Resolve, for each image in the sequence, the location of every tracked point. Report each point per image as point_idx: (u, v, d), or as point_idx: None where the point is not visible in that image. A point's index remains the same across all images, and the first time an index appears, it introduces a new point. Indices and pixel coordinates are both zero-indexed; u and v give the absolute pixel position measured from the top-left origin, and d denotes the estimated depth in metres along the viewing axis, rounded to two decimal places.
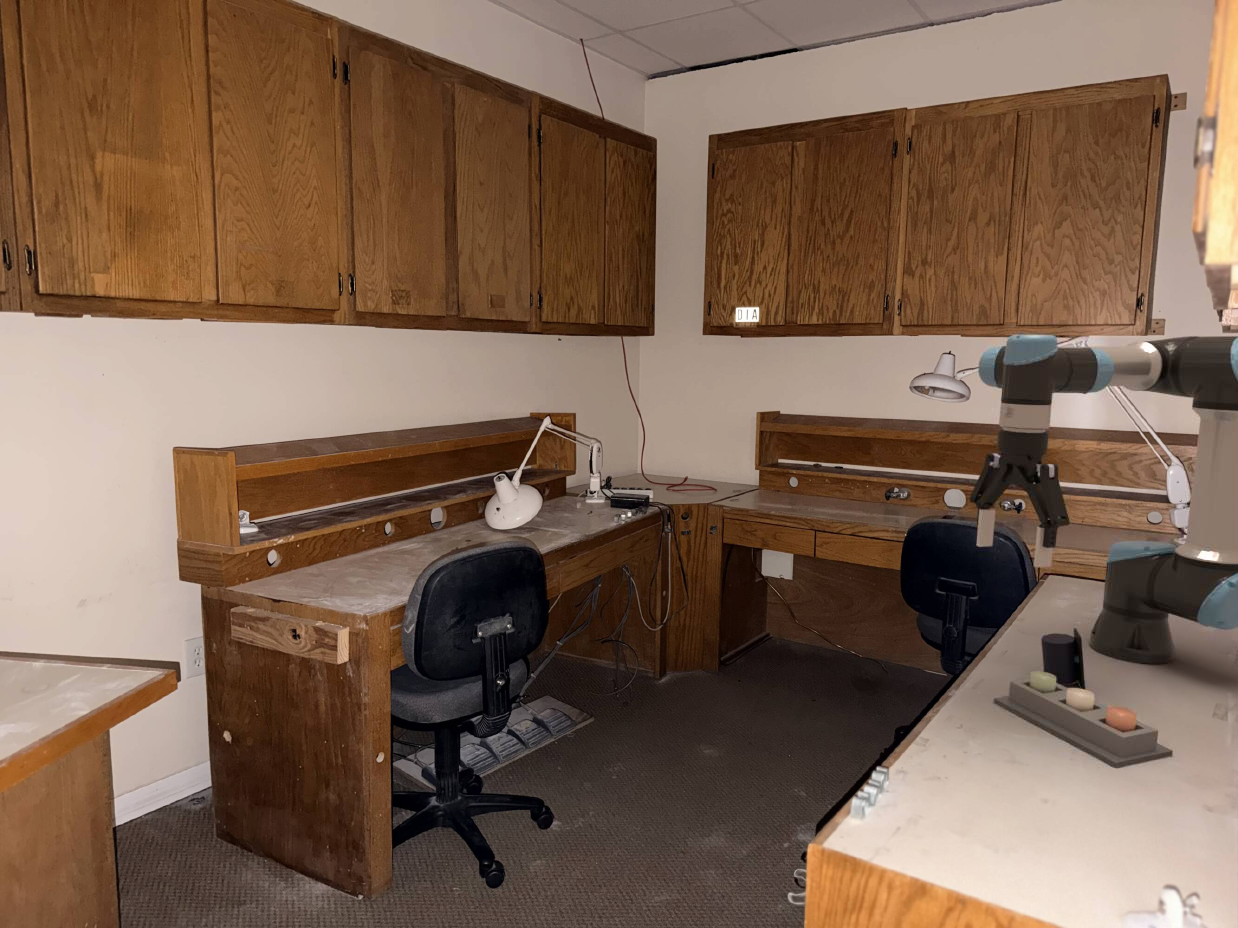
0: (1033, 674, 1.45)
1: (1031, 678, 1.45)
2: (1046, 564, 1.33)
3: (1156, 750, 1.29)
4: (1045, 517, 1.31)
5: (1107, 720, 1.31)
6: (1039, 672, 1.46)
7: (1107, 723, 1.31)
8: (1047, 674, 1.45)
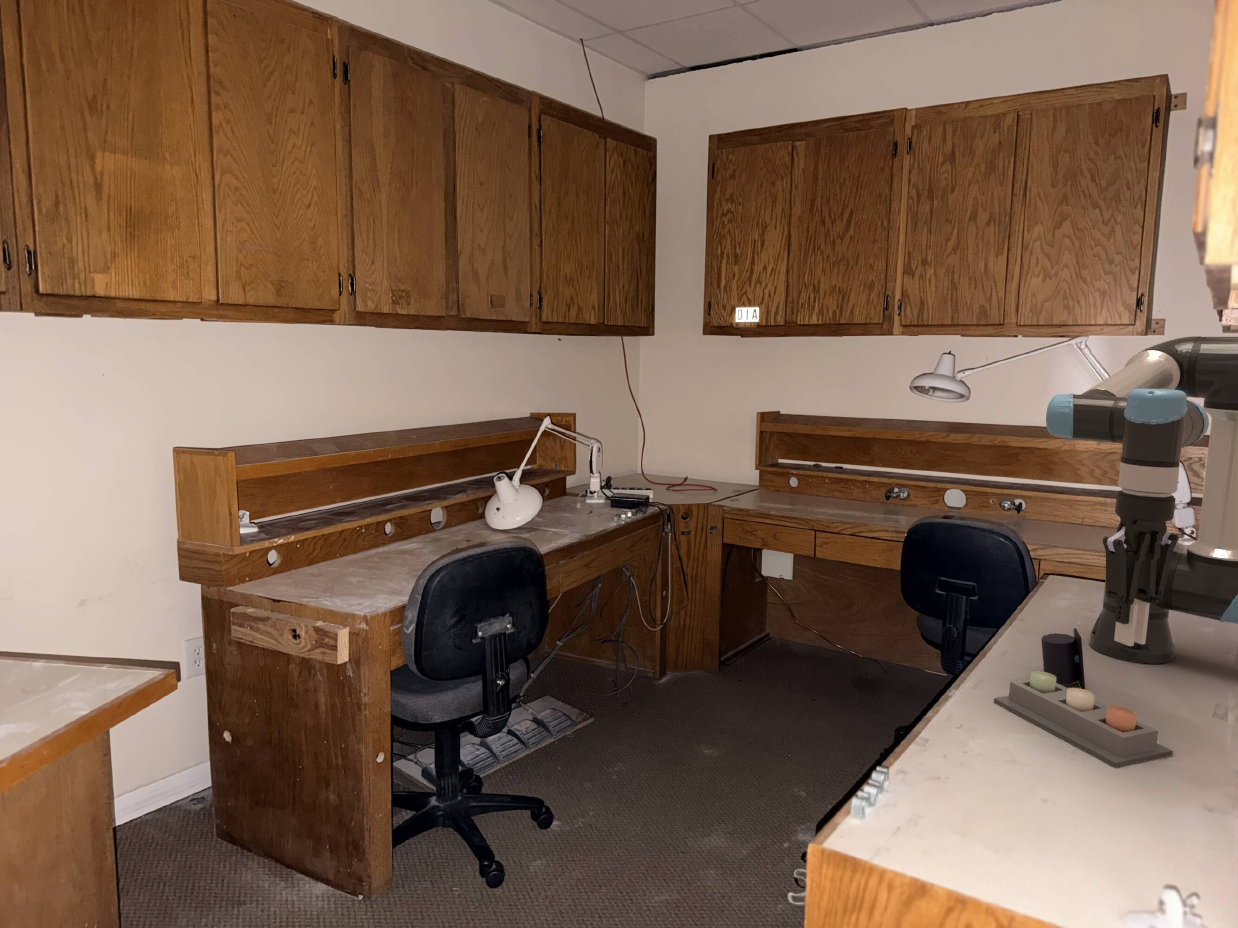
0: (1033, 674, 1.45)
1: (1031, 678, 1.45)
2: (1124, 641, 1.28)
3: (1156, 750, 1.29)
4: None
5: (1107, 720, 1.31)
6: (1039, 672, 1.46)
7: (1107, 723, 1.31)
8: (1047, 674, 1.45)
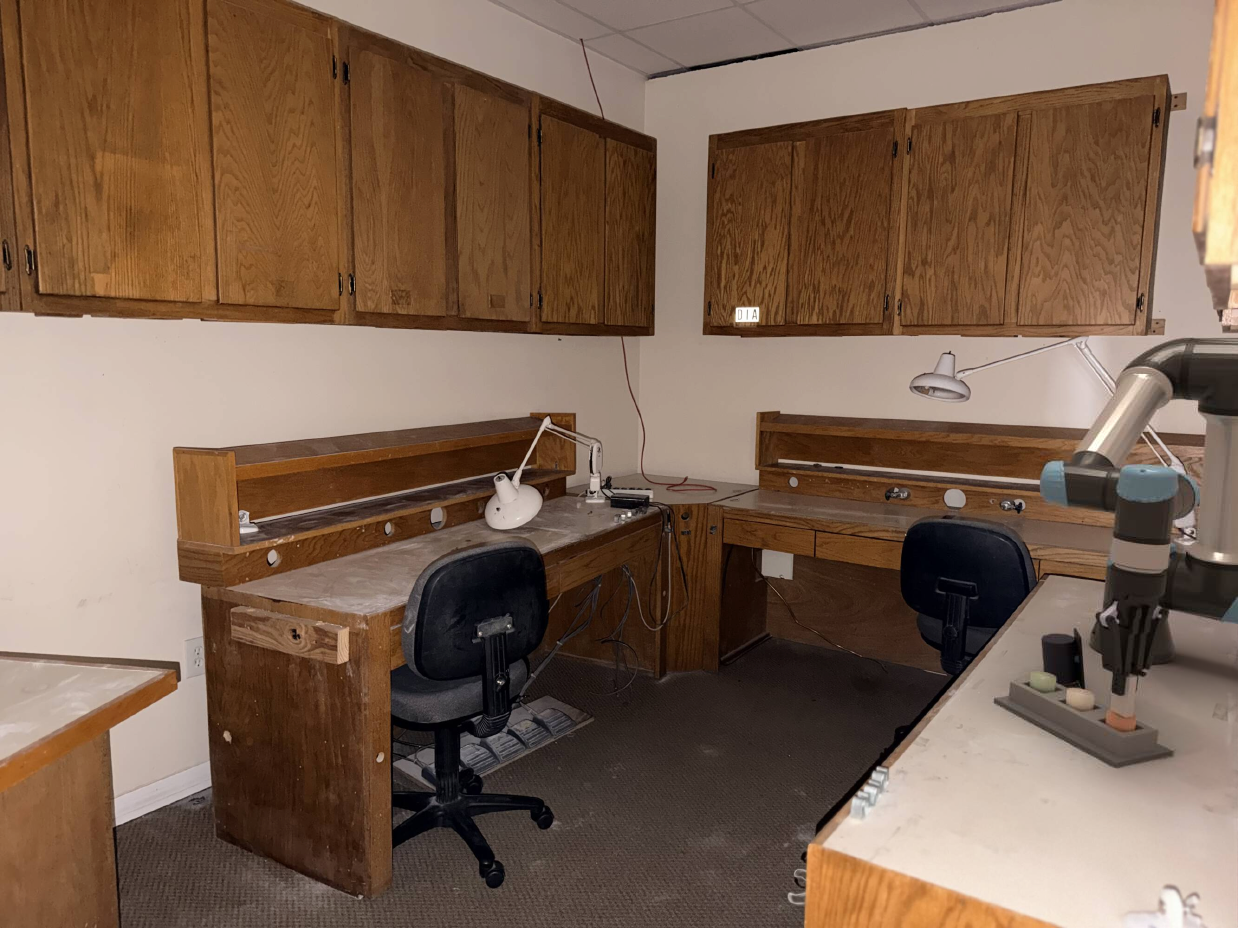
0: (1033, 674, 1.45)
1: (1031, 678, 1.45)
2: (1120, 712, 1.30)
3: (1156, 750, 1.29)
4: None
5: (1107, 722, 1.31)
6: (1039, 672, 1.46)
7: None
8: (1047, 674, 1.45)
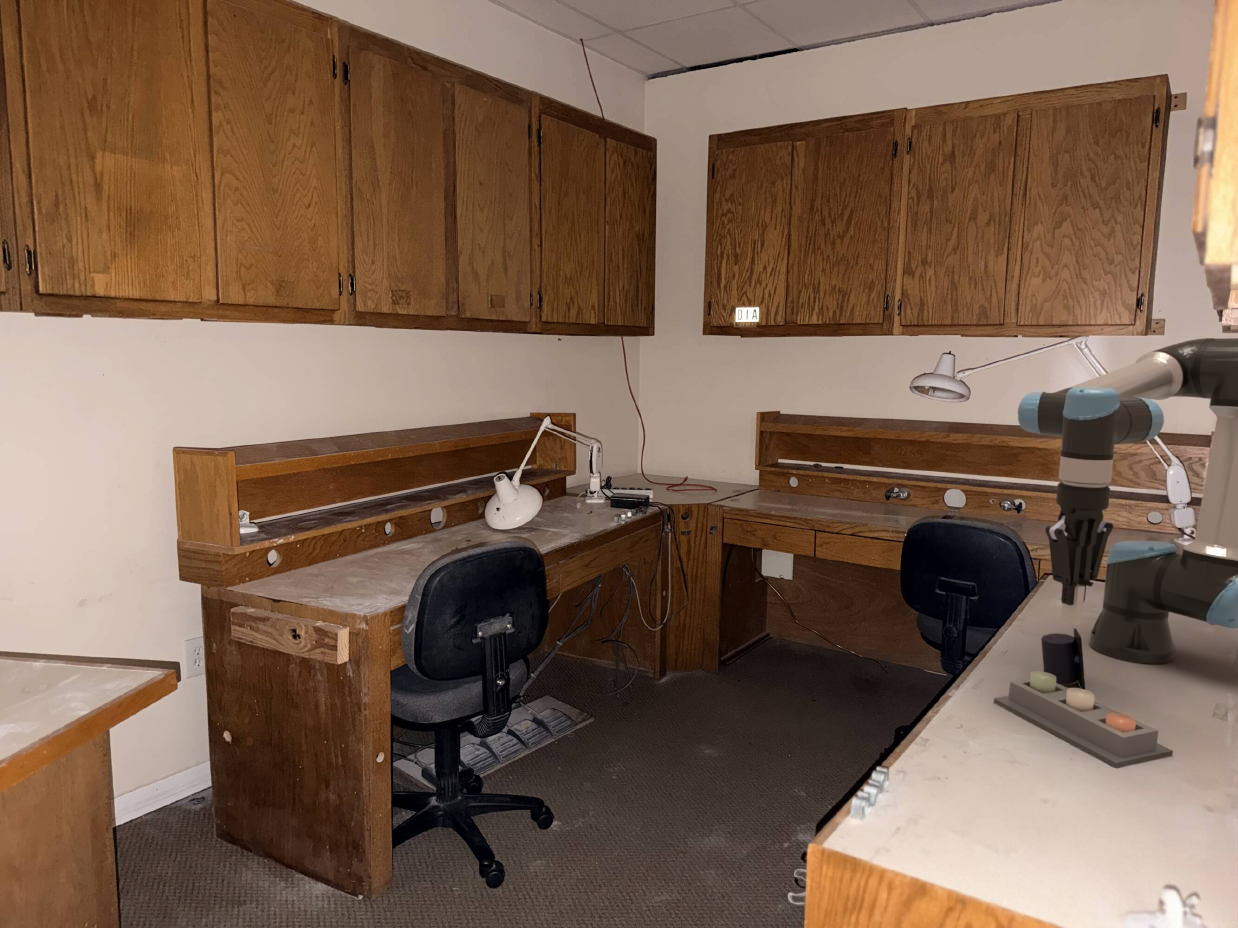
0: (1033, 674, 1.45)
1: (1031, 678, 1.45)
2: (1070, 621, 1.39)
3: (1156, 750, 1.29)
4: None
5: None
6: (1039, 672, 1.46)
7: None
8: (1047, 674, 1.45)
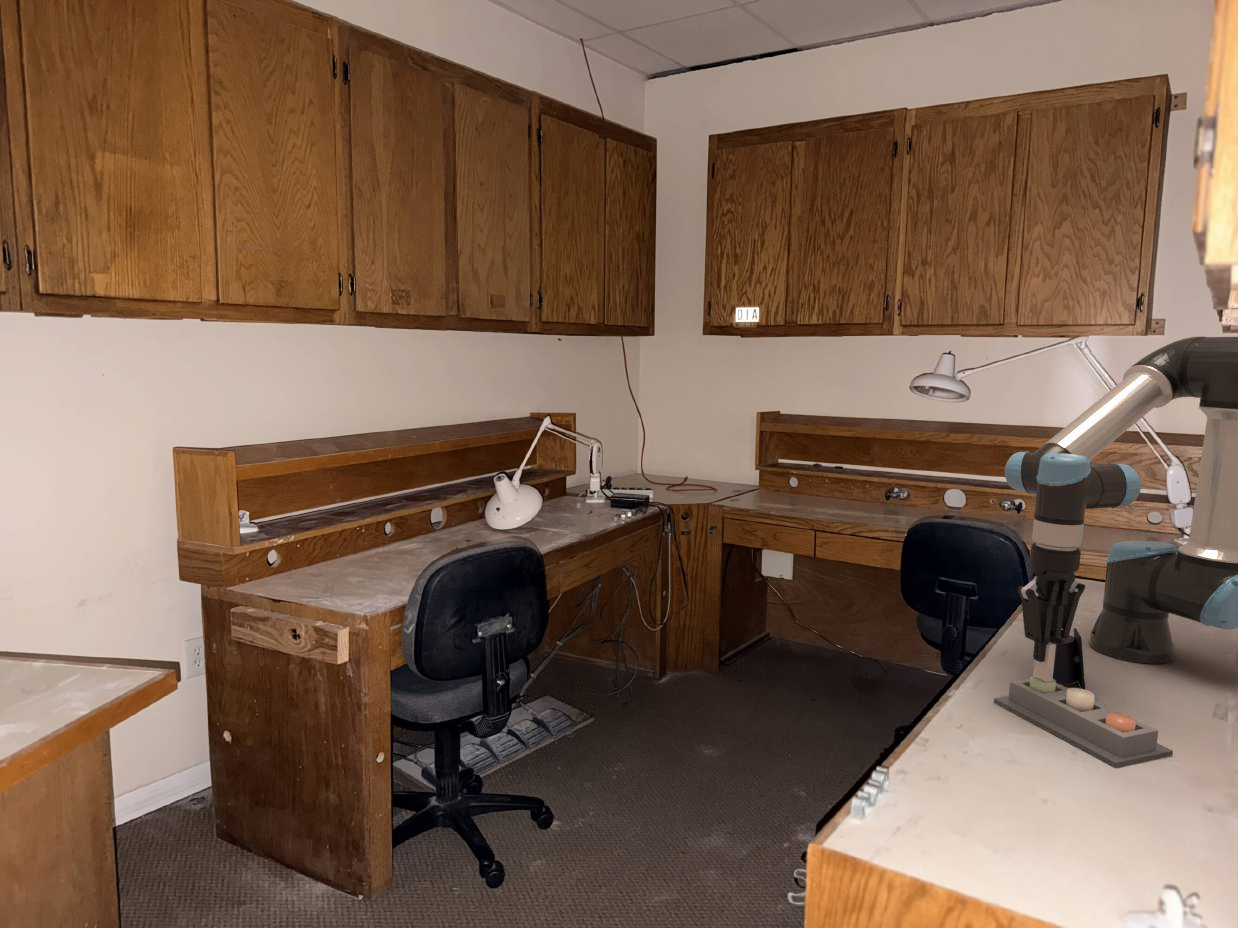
0: (1033, 678, 1.45)
1: (1031, 682, 1.45)
2: (1041, 677, 1.44)
3: (1156, 750, 1.29)
4: None
5: None
6: None
7: None
8: None
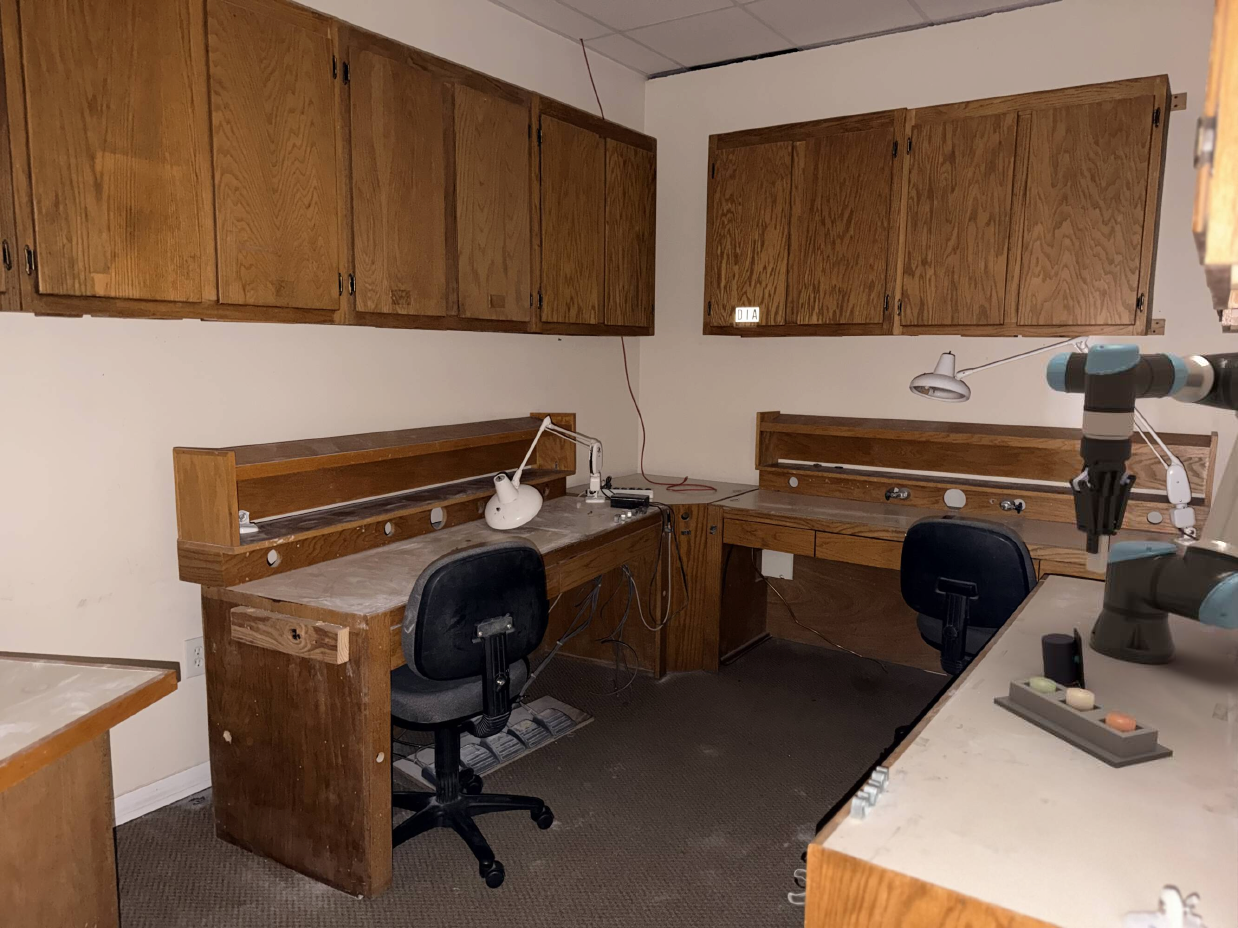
0: (1032, 680, 1.45)
1: (1030, 684, 1.45)
2: (1094, 569, 1.44)
3: (1156, 750, 1.29)
4: None
5: None
6: (1038, 678, 1.46)
7: None
8: (1046, 680, 1.45)
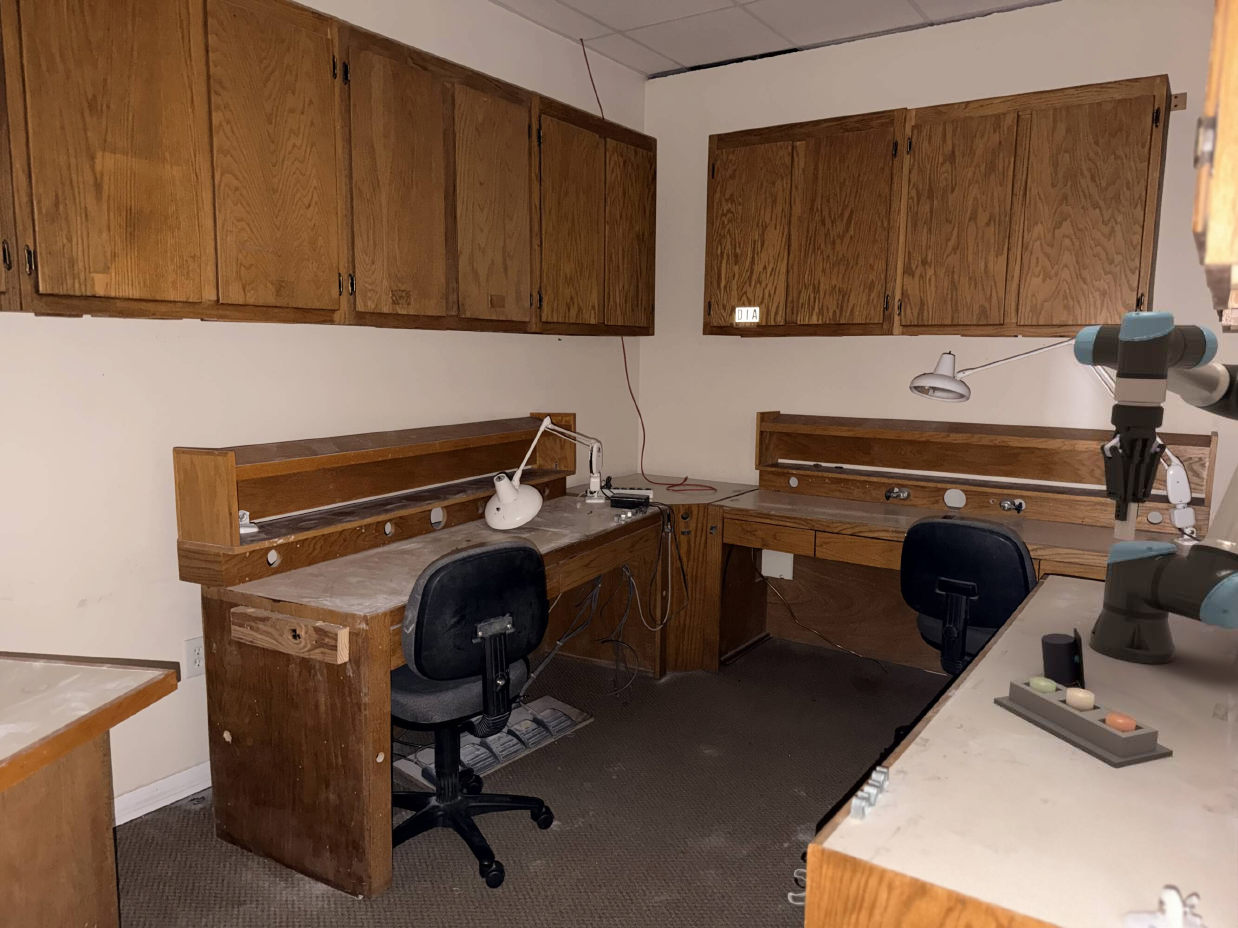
0: (1032, 680, 1.45)
1: (1030, 684, 1.45)
2: (1122, 537, 1.45)
3: (1156, 750, 1.29)
4: None
5: None
6: (1038, 678, 1.46)
7: None
8: (1046, 680, 1.45)
